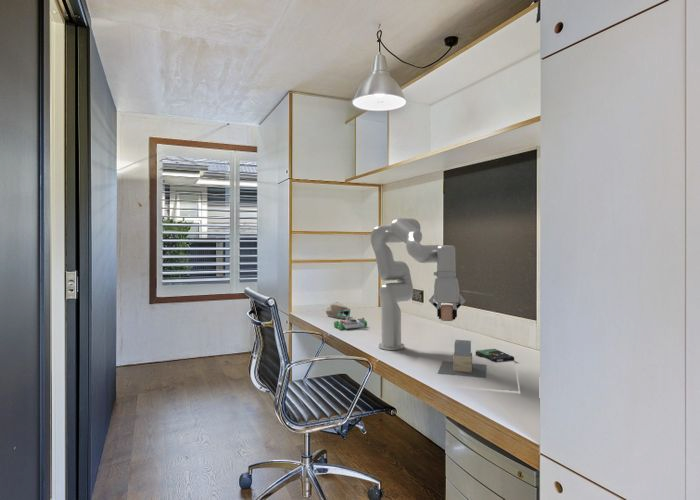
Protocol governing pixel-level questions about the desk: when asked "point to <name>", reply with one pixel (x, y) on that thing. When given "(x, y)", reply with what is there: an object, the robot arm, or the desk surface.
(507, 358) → the disk drive
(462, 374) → the charcoal mat
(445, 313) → the brown egg shape
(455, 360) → the pale oak block
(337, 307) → the decorative stone
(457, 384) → the desk surface
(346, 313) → the robot kit
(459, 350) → the slate grey block
